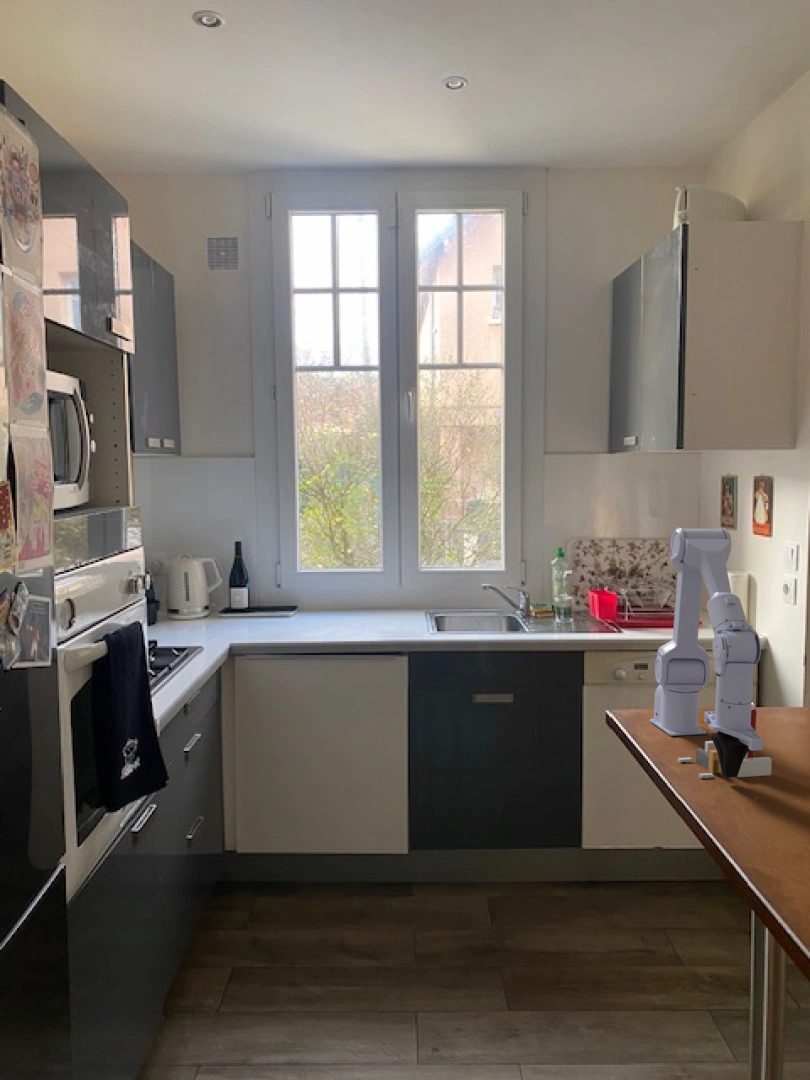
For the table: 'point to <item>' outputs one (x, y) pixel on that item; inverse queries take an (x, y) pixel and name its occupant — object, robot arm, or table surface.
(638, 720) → the table surface
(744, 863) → the table surface
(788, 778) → the table surface
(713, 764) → the bar
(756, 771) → the clip holder
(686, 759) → the strips
